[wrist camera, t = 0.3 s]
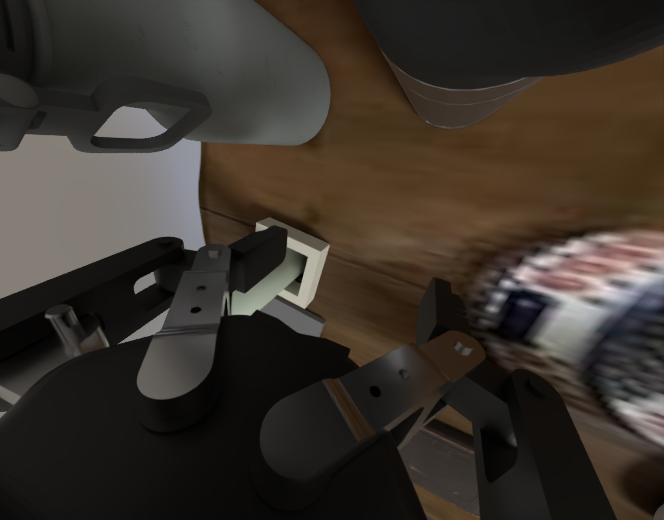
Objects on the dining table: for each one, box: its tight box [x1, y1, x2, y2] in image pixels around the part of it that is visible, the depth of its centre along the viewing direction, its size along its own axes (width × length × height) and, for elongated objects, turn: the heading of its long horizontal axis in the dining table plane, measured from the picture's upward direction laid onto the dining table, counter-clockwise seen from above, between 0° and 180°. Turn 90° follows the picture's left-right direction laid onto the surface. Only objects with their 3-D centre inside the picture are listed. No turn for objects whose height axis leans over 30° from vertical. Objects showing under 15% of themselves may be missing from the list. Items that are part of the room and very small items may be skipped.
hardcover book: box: [399, 420, 480, 518], centre depth 41 cm, size 16×23×2 cm
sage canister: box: [232, 247, 307, 316], centre depth 30 cm, size 5×5×16 cm
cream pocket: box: [255, 217, 330, 309], centre depth 35 cm, size 10×10×3 cm
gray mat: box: [259, 295, 325, 337], centre depth 42 cm, size 12×12×1 cm
